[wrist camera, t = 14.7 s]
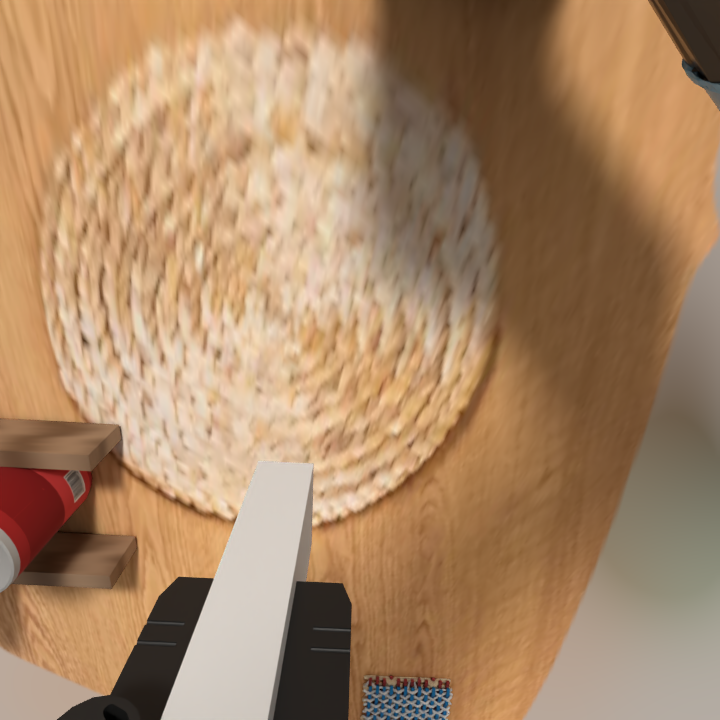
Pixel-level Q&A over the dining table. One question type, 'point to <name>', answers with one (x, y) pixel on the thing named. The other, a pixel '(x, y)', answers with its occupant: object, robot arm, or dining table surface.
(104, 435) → the walnut bracket
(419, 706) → the woven mat
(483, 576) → the dining table surface
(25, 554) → the canned food
